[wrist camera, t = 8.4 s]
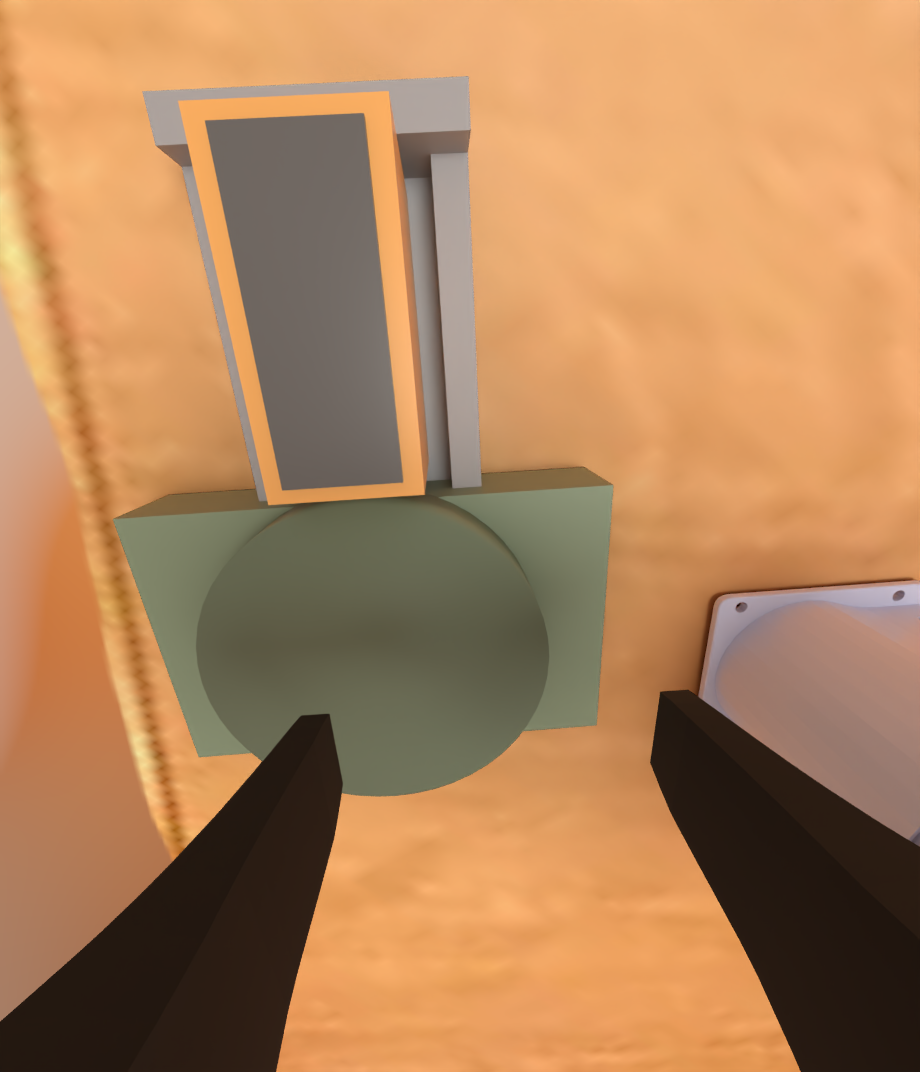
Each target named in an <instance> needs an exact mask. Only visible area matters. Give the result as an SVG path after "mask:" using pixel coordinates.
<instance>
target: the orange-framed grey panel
mask: <svg viewBox="0 0 920 1072" xmlns="http://www.w3.org/2000/svg"><path fill="white" fill-rule="evenodd" d="M178 103H179V108H180V112H181V117H182V121H183V126H184V130H185V135H186V139H187V144H188V148H189V153H190V157H191V162H192V166H193V171H194V175H195V180H196V184H197V188H198V193H199V197H200V202H201V206H202V211H203V215H204V220H205V224H206V229H207V233H208V238H209V242H210V247H211V251H212V256H213V260H214V265H215V269H216V273H217V278H218V282H219V287H220V291H221V296H222V300H223V305H224V309H225V314H226V318H227V323H228V327H229V332H230V336H231V341H232V345H233V350H234V354H235V358H236V363H237V367H238V372H239V376H240V381H241V385H242V390H243V394H244V399H245V403H246V408H247V412H248V417H249V421H250V426H251V430H252V435H253V439H254V443H255V448H256V452H257V457H258V461H259V466H260V470H261V475H262V479H263V484H264V488H265V493H266V497H267V502H268V505H279V504H294V503H309V502H324V501H339V500H353V499H368V498H383V497H398V496H413V495H425V488H426V480H427V472H428V464H429V453H428V440H427V428H426V416H425V404H424V392H423V380H422V368H421V356H420V344H419V332H418V320H417V307H416V295H415V283H414V271H413V259H412V247H411V235H410V223H409V211H408V199H407V191H406V186H405V180H404V174H403V169H402V163H401V157H400V152H399V146H398V141H397V135H396V129H395V124H394V118H393V112H392V107H391V101H390V95H389V91H378V92H357V93H335V94H313V95H292V96H270V97H248V98H226V99H205V100H183V101H178Z"/></svg>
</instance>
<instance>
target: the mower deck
mask: <svg viewBox="0 0 920 1072" xmlns="http://www.w3.org/2000/svg"><path fill="white" fill-rule="evenodd" d="M378 91H389V95H390V101H391V107H392V112H393V118H394V124H395V129H396V135H397V141H398V146H399V152H400V157H401V163H402V169H403V174H404V180H405V186H406V191H407V199H408V211H409V223H410V235H411V247H412V259H413V271H414V283H415V295H416V307H417V320H418V332H419V344H420V356H421V368H422V380H423V392H424V404H425V416H426V428H427V440H428V453H429V464H428V472H427V480H426V488H425V495H413V496H398V497H383V498H368V499H353V500H339V501H324V502H309V503H294V504H279V505H268V502H267V497H266V493H265V488H264V484H263V479H262V475H261V470H260V466H259V461H258V457H257V452H256V448H255V443H254V439H253V435H252V430H251V426H250V421H249V417H248V412H247V408H246V403H245V399H244V394H243V390H242V385H241V381H240V376H239V372H238V367H237V363H236V358H235V354H234V350H233V345H232V341H231V336H230V332H229V327H228V323H227V318H226V314H225V309H224V305H223V300H222V296H221V291H220V287H219V282H218V278H217V273H216V269H215V265H214V260H213V256H212V251H211V247H210V242H209V238H208V233H207V229H206V224H205V220H204V215H203V211H202V206H201V202H200V197H199V193H198V188H197V184H196V180H195V175H194V171H193V166H192V162H191V157H190V153H189V148H188V144H187V139H186V135H185V130H184V126H183V121H182V117H181V112H180V108H179V103H178V101H183V100H205V99H226V98H248V97H270V96H292V95H313V94H335V93H357V92H378ZM142 92H143V96H144V100H145V104H146V108H147V112H148V116H149V120H150V124H151V128H152V132H153V137H154V141H155V145H156V146H157V147H158V148H159V149H161V150H162V151H163V152H164V153H165V154H167V155H168V156H169V157H170V158H172V159H173V160H174V161H175V162H176V163H178V164H179V165H180V166H181V167H182V170H183V175H184V179H185V183H186V188H187V192H188V196H189V201H190V205H191V209H192V214H193V218H194V222H195V227H196V231H197V235H198V240H199V244H200V248H201V253H202V257H203V261H204V266H205V270H206V274H207V278H208V283H209V287H210V291H211V296H212V300H213V304H214V309H215V313H216V317H217V322H218V326H219V330H220V335H221V339H222V343H223V348H224V352H225V356H226V361H227V365H228V369H229V374H230V378H231V382H232V387H233V391H234V395H235V399H236V404H237V408H238V412H239V417H240V421H241V425H242V430H243V434H244V438H245V443H246V447H247V451H248V456H249V460H250V464H251V469H252V473H253V477H254V482H255V486H256V489H247V490H233V491H218V492H203V493H188V494H173V495H167V496H165V497H163V498H160V499H158V500H156V501H154V502H151V503H149V504H147V505H144V506H142V507H140V508H137V509H135V510H133V511H130V512H128V513H126V514H123V515H121V516H119V517H116V518H114V519H113V521H114V524H115V527H116V530H117V532H118V535H119V538H120V541H121V543H122V546H123V549H124V552H125V554H126V557H127V560H128V563H129V565H130V568H131V571H132V574H133V577H134V579H135V582H136V585H137V588H138V590H139V593H140V596H141V599H142V601H143V604H144V607H145V610H146V612H147V615H148V618H149V621H150V623H151V626H152V629H153V632H154V635H155V637H156V640H157V643H158V646H159V648H160V651H161V654H162V657H163V659H164V662H165V665H166V668H167V670H168V673H169V676H170V679H171V682H172V684H173V687H174V690H175V693H176V695H177V698H178V701H179V704H180V706H181V709H182V712H183V715H184V717H185V720H186V723H187V726H188V729H189V731H190V734H191V737H192V740H193V742H194V745H195V748H196V751H197V753H198V756H199V757H208V756H221V755H233V754H246V753H252V754H254V755H255V756H256V757H258V758H259V759H260V760H261V761H263V760H264V759H265V758H266V756H267V755H268V754H269V753H270V752H271V750H272V749H273V748H274V747H275V746H276V744H277V743H278V742H279V741H280V740H281V738H282V737H283V736H284V735H285V733H286V732H287V731H288V730H289V729H290V727H291V726H292V725H293V724H294V723H295V721H296V720H297V719H298V718H299V717H300V716H301V715H314V714H330V719H331V724H332V729H333V734H334V739H335V745H336V750H337V755H338V760H339V765H340V770H341V775H342V781H343V788H342V793H345V794H351V795H360V796H398V795H406V794H413V793H419V792H423V791H428V790H432V789H436V788H439V787H442V786H445V785H448V784H451V783H454V782H456V781H458V780H460V779H462V778H464V777H467V776H469V775H471V774H473V773H474V772H476V771H478V770H479V769H481V768H483V767H484V766H486V765H488V764H489V763H490V762H492V761H493V760H494V759H495V758H497V757H498V756H499V755H501V754H502V753H503V752H504V751H505V750H506V749H507V748H508V747H509V746H510V745H511V744H512V743H513V742H514V741H515V740H516V739H517V738H518V737H519V735H520V734H521V733H522V732H523V731H532V730H544V729H557V728H569V727H582V726H594V725H597V712H598V698H599V683H600V669H601V655H602V640H603V626H604V612H605V597H606V583H607V569H608V554H609V540H610V526H611V511H612V497H613V485H612V484H611V483H609V482H608V481H606V480H604V479H603V478H601V477H599V476H598V475H596V474H595V473H593V472H591V471H590V470H588V469H586V468H585V467H576V468H561V469H546V470H531V471H516V472H501V473H486V474H481V461H480V437H479V413H478V388H477V364H476V340H475V316H474V291H473V267H472V243H471V218H470V194H469V170H468V147H469V139H470V131H471V128H470V102H469V77H468V76H465V77H443V78H422V79H400V80H379V81H357V82H336V83H314V84H293V85H271V86H250V87H228V88H207V89H185V90H163V91H142Z"/></svg>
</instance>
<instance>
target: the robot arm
mask: <svg viewBox="0 0 920 1072" xmlns="http://www.w3.org/2000/svg"><path fill="white" fill-rule="evenodd" d="M739 603H741V604H740V606H739V607H737V608H736V606H737V604H739ZM650 763H651V766H652V768H653V771H654V773H655V776H656V778H657V781H658V783H659V786H660V788H661V791H662V793H663V796H664V798H665V800H666V803H667V805H668V807H669V810H670V812H671V814H672V816H673V818H674V820H675V822H676V824H677V826H678V827H679V829H680V831H681V833H682V835H683V837H684V839H685V841H686V842H687V844H688V846H689V848H690V850H691V852H692V854H693V855H694V857H695V859H696V861H697V863H698V865H699V866H700V868H701V870H702V872H703V874H704V876H705V877H706V879H707V881H708V883H709V885H710V887H711V888H712V890H713V892H714V894H715V896H716V898H717V900H718V901H719V903H720V905H721V907H722V909H723V911H724V912H725V914H726V916H727V918H728V920H729V922H730V923H731V925H732V927H733V929H734V931H735V933H736V934H737V936H738V938H739V940H740V942H741V944H742V946H743V948H744V950H745V952H746V954H747V956H748V958H749V960H750V962H751V964H752V965H753V967H754V969H755V971H756V973H757V975H758V978H759V980H760V982H761V984H762V986H763V989H764V991H765V993H766V995H767V997H768V1000H769V1002H770V1004H771V1006H772V1008H773V1011H774V1013H775V1015H776V1017H777V1019H778V1022H779V1024H780V1026H781V1028H782V1030H783V1033H784V1035H785V1037H786V1039H787V1041H788V1044H789V1046H790V1048H791V1050H792V1052H793V1055H794V1057H795V1059H796V1062H797V1064H798V1066H799V1069H800V1071H801V1072H920V581H919V580H912V581H898V582H885V583H871V584H858V585H844V586H831V587H817V588H804V589H790V590H777V591H763V592H750V593H736V594H726V595H722V596H721V597H719V598H718V599H717V600H716V601H715V604H714V608H713V614H712V620H711V625H710V631H709V637H708V643H707V649H706V654H705V660H704V666H703V672H702V678H701V684H700V689H699V695H698V696H696V695H695V694H693V693H692V692H690V691H689V690H679V691H664V692H660V698H659V705H658V712H657V719H656V726H655V733H654V740H653V747H652V754H651V761H650ZM342 788H343V781H342V775H341V770H340V765H339V760H338V755H337V750H336V745H335V739H334V734H333V729H332V724H331V719H330V714H314V715H301V716H300V717H299V718H298V719H297V720H296V721H295V723H294V724H293V725H292V726H291V727H290V729H289V730H288V731H287V732H286V733H285V735H284V736H283V737H282V738H281V740H280V741H279V742H278V743H277V744H276V746H275V747H274V748H273V749H272V750H271V752H270V753H269V754H268V755H267V756H266V758H265V759H264V760H263V761H262V762H261V764H260V765H259V766H258V767H257V768H256V770H255V771H254V772H253V773H252V774H251V776H250V777H249V778H248V779H247V780H246V781H245V782H244V784H243V785H242V786H241V787H240V788H239V789H238V791H237V792H236V793H235V794H234V795H233V796H232V797H231V799H230V800H229V801H228V802H227V803H226V804H225V806H224V807H223V808H222V809H221V810H220V811H219V812H218V813H217V815H216V816H215V817H214V818H213V819H212V820H211V821H210V822H209V823H208V824H207V825H206V827H205V828H204V829H203V830H202V831H201V832H200V833H199V834H198V835H197V836H196V837H195V838H194V839H193V840H192V842H191V843H190V844H189V845H188V846H187V847H186V848H185V849H184V850H183V851H182V852H181V853H180V854H179V855H178V857H177V858H176V859H175V860H174V861H173V862H172V863H171V864H170V865H169V866H168V867H167V868H166V869H165V870H164V871H163V872H162V873H161V874H160V875H159V876H158V877H157V878H156V879H155V880H154V881H153V882H152V883H151V884H150V885H149V886H148V887H147V888H146V889H145V890H144V891H143V892H142V893H141V894H140V895H139V896H138V897H137V898H136V899H135V900H134V901H133V902H132V903H131V904H130V905H129V906H128V907H127V908H126V909H125V910H124V911H123V912H122V913H121V914H119V915H118V916H117V918H115V919H114V920H113V921H112V922H111V923H110V924H109V925H108V926H107V927H106V928H105V929H104V930H103V931H102V932H101V933H99V934H98V935H97V936H96V937H95V938H94V939H93V940H92V941H91V942H90V943H89V944H87V945H86V946H85V947H84V948H83V949H82V950H81V951H80V952H79V953H77V954H76V955H75V956H74V957H73V958H72V959H71V960H70V961H69V962H67V964H65V965H64V966H63V967H62V968H61V969H60V970H59V971H57V972H56V973H55V974H54V975H53V976H51V977H50V978H49V979H48V980H47V981H46V982H45V983H44V984H42V986H40V987H39V988H38V989H37V990H36V991H35V992H34V993H32V994H31V995H30V996H29V997H28V998H27V999H25V1001H23V1002H22V1003H21V1004H20V1005H19V1006H18V1007H16V1008H15V1009H14V1010H13V1011H12V1012H11V1013H10V1014H8V1015H7V1016H6V1017H5V1018H4V1019H3V1020H1V1021H0V1072H276V1069H277V1064H278V1059H279V1054H280V1049H281V1044H282V1039H283V1034H284V1029H285V1024H286V1019H287V1014H288V1009H289V1005H290V1001H291V997H292V993H293V989H294V985H295V980H296V976H297V973H298V969H299V965H300V962H301V958H302V954H303V951H304V947H305V943H306V940H307V936H308V932H309V929H310V925H311V921H312V918H313V914H314V911H315V907H316V903H317V900H318V896H319V892H320V889H321V885H322V881H323V878H324V874H325V870H326V866H327V863H328V859H329V855H330V852H331V848H332V844H333V840H334V836H335V830H336V824H337V819H338V813H339V807H340V800H341V794H342Z"/></svg>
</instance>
